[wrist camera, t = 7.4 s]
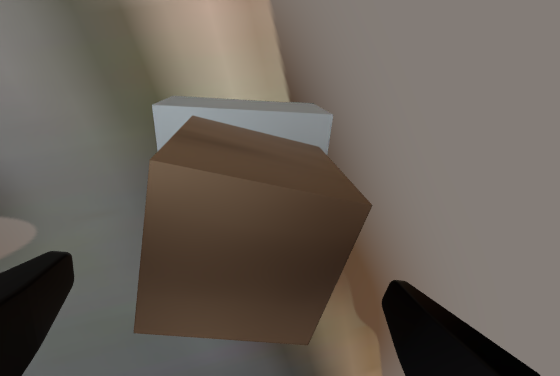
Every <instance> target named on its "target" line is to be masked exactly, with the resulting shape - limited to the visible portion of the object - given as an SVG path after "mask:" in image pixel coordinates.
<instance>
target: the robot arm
mask: <svg viewBox="0 0 560 376" xmlns="http://www.w3.org/2000/svg"><path fill="white" fill-rule="evenodd" d="M73 283H74V271H73V261H72V256H71V254H70V253H68V252H59V251H50V252H47V253H45V254H42V255H40V256H38V257H36V258H33V259H31V260H29V261H27V262H24V263H22V264H20V265H18V266H15V267H13V268H11V269H9V270H7V271H4V272H2V273H0V376H22V374H23V373H24V371H25V370H26V368H27V367H28V365H29V364H30V362H31V361H32V359H33V357H34V356H35V354H36V353H37V351H38V350H39V348H40V346H41V344H42V343H43V341H44V339H45V337H46V335H47V333H48V331H49V330H50V328H51V326H52V324H53V322H54V320H55V318H56V316H57V315H58V313H59V311H60V309H61V307H62V305H63V303H64V301H65V299H66V298H67V296H68V294H69V292H70V290H71V288H72V286H73ZM382 308H383V311H384V314H385V317H386V321H387V324H388V327H389V330H390V333H391V337H392V340H393V343H394V347H395V349H396V352H397V355H398V358H399V361H400V363H401V366H402V368H403V371H404V373H405V376H540V375H539V374H538V373H537V372H535V371H534V370H533V369H531V368H530V367H528V366H527V365H526V364H524V363H523V362H521V361H520V360H518V359H517V358H515V357H514V356H512V355H511V354H510V353H508V352H507V351H505V350H504V349H502V348H501V347H500V346H498V345H497V344H495V343H494V342H492V341H491V340H490V339H488V338H487V337H485V336H484V335H482V334H481V333H479V332H478V331H477V330H475V329H474V328H472V327H471V326H469V325H468V324H467V323H465V322H463V321H462V320H461V319H459V318H458V317H456V316H455V315H454V314H452V313H451V312H449V311H448V310H446V309H445V308H444V307H442V306H441V305H439V304H438V303H436V302H435V301H433V300H432V299H430V298H429V297H427V296H426V295H425V294H423V293H422V292H420V291H419V290H418V289H416V288H415V287H413V286H412V285H410V284H409V283H408V282H405V281H399V280H393V281H391V283H390V284H389V286H388V288H387V290H386V292H385V294H384V297H383V299H382Z"/></svg>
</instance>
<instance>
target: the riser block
mask: <svg viewBox="0 0 560 376" xmlns="http://www.w3.org/2000/svg"><path fill="white" fill-rule="evenodd" d="M152 108H153V116H154V125H155V133H156V141H157V149H158V151H159V150H160V149H161V148H162V147H163V146H164V144H165V143H166V142H167V141H168V140H169V139H170V138H171V137H172V136H173V135H174V134H175V133H176V132H177V131H178V130H179V129H180V128H181V127H182V126H183V125H184V124H185V123H186V122H187V121H188V120H189V118H190V117H191V116H192V115H193V116H197V117H201V118H205V119H209V120H213V121H217V122H221V123H225V124H229V125H233V126H237V127H241V128H245V129H250V130H254V131H258V132H262V133H266V134H270V135H274V136H278V137H282V138H286V139H290V140H294V141H298V142H302V143H306V144H310V145H314V146H318V147H320V148H321V149H322V151H323V152H324V153H325V154H326V155H327V153H328V147H329V139H330V133H331V126H332V120H333V114H331V113H330V112H328V111H326V110H324V109H322V108H320V107H319V106H317V105H315V104H314V103H300V102H290V103H289V102H272V101H255V100H238V99H220V98H203V97H186V96H171V97H169V98H167V99H164V100H162V101H160V102H157V103H155V104H153V105H152Z"/></svg>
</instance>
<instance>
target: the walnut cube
mask: <svg viewBox="0 0 560 376" xmlns="http://www.w3.org/2000/svg"><path fill="white" fill-rule="evenodd" d="M371 207H372V205H371V203H370V202H369V201H368V200H367V199H366V198H365V197H364V196H363V195H362V194H361V192H360V191H359V190H358V189H357V188H356V187H355V186H354V185H353V184H352V182H351V181H350V180H349V179H348V178H347V177H346V176H345V175H344V174H343V173H342V171H340V169H339V168H338V167H337V166H336V165H335V164H334V163H333V162H332V160H330V158H329V157H328V156H327V155H326V154H325V153H324V152H323V151H322V149H321V148H320V147H318V146H314V145H310V144H306V143H302V142H298V141H294V140H290V139H286V138H282V137H278V136H274V135H270V134H266V133H262V132H258V131H254V130H250V129H245V128H241V127H237V126H233V125H229V124H225V123H221V122H217V121H213V120H209V119H205V118H201V117H197V116H193V115H192V116H191V117H190V118H189V120H188V121H187V122H186V123H185V124H184V125H183V126H182V127H181V128H180V129H179V130H178V131H177V132H176V133H175V134H174V135H173V136H172V137H171V138H170V139H169V140H168V141H167V142H166V143H165V144H164V146H163V147H162V148H161V149H160V150H159V151H158V152H157V153H156V154H155V155H154V156H153V157H152V158H151V159H150V163H149V174H148V185H147V195H146V206H145V217H144V228H143V238H142V249H141V260H140V270H139V281H138V292H137V303H136V313H135V324H134V333H140V334H154V335H168V336H183V337H197V338H212V339H226V340H240V341H255V342H269V343H284V344H298V345H308V344H309V342H310V340H311V338H312V335H313V333H314V331H315V329H316V327H317V325H318V322H319V320H320V318H321V316H322V314H323V312H324V309H325V307H326V305H327V303H328V301H329V299H330V296H331V294H332V292H333V290H334V288H335V285H336V283H337V281H338V279H339V277H340V275H341V272H342V270H343V268H344V266H345V264H346V262H347V259H348V257H349V255H350V253H351V251H352V249H353V246H354V244H355V242H356V240H357V238H358V235H359V233H360V231H361V229H362V227H363V225H364V222H365V220H366V218H367V216H368V214H369V212H370V209H371Z"/></svg>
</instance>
